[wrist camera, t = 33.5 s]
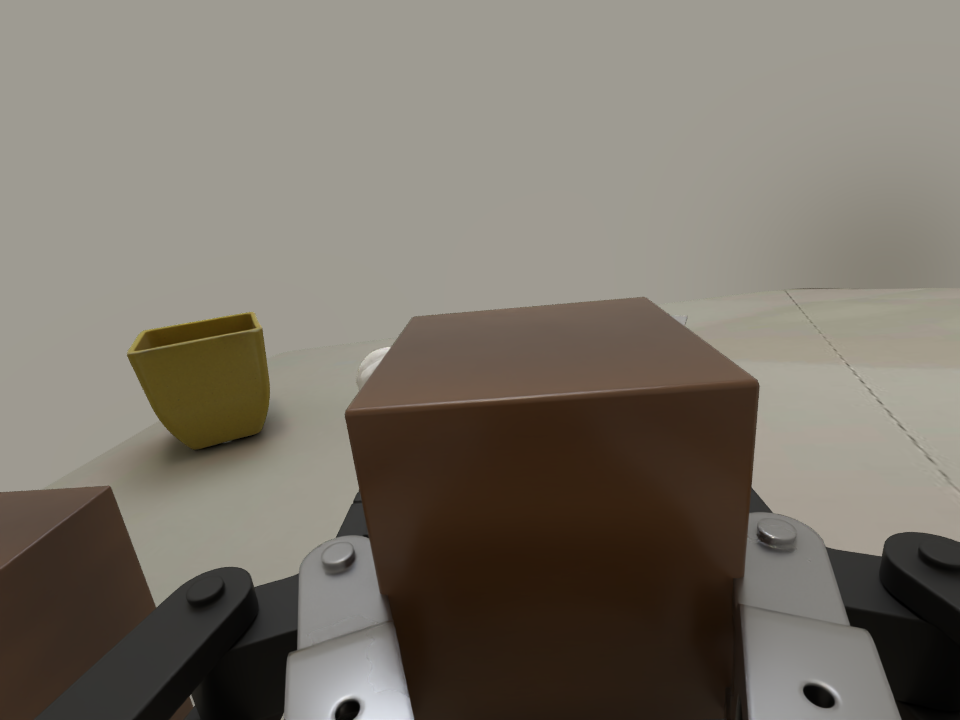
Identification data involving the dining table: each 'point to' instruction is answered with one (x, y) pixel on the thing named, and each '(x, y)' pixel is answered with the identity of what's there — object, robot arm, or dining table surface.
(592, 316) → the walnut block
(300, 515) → the dining table surface
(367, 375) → the white swirl cone
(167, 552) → the dining table surface
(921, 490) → the dining table surface
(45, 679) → the walnut block middle
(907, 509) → the dining table surface
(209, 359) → the flower pot
